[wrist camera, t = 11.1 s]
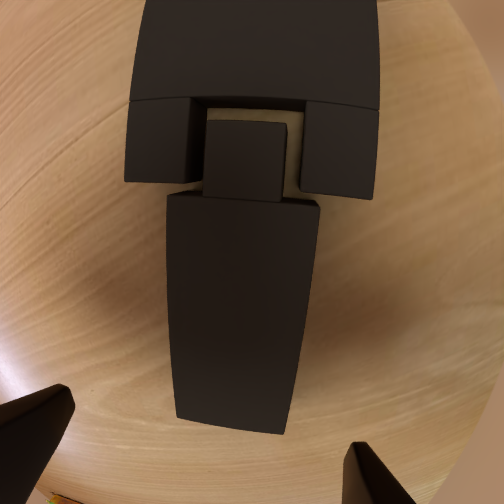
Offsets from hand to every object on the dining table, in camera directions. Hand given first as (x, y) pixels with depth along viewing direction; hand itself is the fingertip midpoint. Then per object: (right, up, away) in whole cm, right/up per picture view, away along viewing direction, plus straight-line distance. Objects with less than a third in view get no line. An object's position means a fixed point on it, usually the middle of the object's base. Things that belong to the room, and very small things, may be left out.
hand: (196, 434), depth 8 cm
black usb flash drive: (+1, +4, +7) cm, 8 cm away
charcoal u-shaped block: (+2, +14, +4) cm, 15 cm away
